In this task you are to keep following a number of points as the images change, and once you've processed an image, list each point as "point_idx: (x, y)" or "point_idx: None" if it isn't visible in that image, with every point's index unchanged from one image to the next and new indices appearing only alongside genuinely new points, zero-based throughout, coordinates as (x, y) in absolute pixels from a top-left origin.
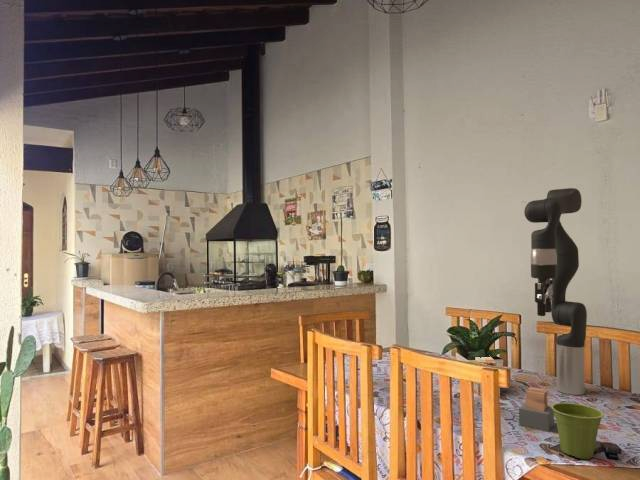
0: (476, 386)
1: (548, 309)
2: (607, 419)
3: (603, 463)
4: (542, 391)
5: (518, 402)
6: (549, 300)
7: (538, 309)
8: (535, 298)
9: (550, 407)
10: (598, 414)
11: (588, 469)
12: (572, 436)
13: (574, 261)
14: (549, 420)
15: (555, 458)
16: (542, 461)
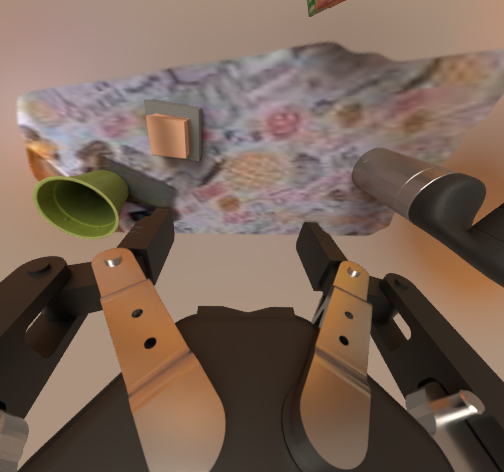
0: None
1: (301, 247)
2: (259, 212)
3: None
4: (170, 150)
5: (282, 83)
6: (320, 288)
7: (129, 232)
8: (4, 286)
9: (192, 156)
10: (106, 231)
11: None
12: (69, 193)
13: None
14: None
15: (69, 164)
16: (41, 149)
